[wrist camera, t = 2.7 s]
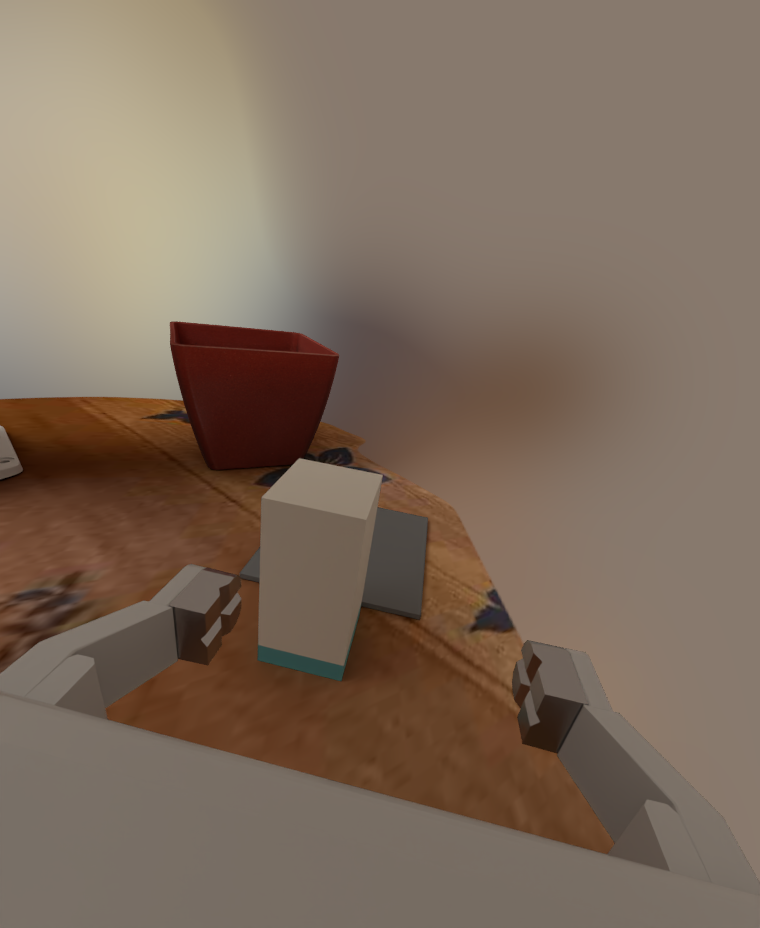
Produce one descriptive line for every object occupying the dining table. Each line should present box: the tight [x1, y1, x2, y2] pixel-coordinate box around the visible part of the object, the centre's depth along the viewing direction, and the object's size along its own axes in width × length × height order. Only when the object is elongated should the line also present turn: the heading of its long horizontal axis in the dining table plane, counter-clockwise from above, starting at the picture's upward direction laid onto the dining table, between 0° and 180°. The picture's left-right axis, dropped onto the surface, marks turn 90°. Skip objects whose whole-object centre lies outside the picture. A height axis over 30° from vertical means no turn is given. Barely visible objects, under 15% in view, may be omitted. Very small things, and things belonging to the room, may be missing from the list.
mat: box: [240, 507, 428, 620], centre depth 39 cm, size 16×16×1 cm
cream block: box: [258, 458, 383, 681], centre depth 26 cm, size 6×6×13 cm
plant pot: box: [170, 322, 339, 470], centre depth 54 cm, size 19×19×17 cm
